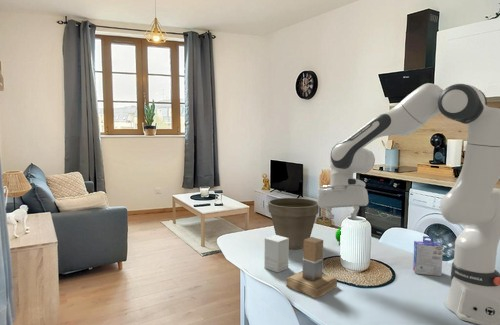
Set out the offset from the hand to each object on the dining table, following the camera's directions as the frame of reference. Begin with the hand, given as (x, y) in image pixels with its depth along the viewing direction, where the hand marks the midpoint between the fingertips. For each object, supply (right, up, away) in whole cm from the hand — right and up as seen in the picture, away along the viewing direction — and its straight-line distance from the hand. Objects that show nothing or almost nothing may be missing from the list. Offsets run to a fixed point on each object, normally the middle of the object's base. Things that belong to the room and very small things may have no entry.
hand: (342, 218), depth 136 cm
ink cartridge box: (+36, -23, +6) cm, 43 cm away
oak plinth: (-14, -23, -9) cm, 28 cm away
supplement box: (-25, -22, +8) cm, 34 cm away
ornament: (+11, -20, +41) cm, 47 cm away
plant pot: (-15, -19, +38) cm, 45 cm away
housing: (-13, -20, -9) cm, 26 cm away
